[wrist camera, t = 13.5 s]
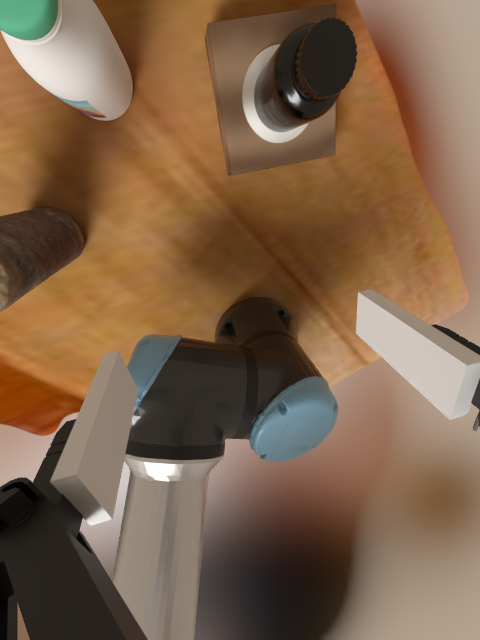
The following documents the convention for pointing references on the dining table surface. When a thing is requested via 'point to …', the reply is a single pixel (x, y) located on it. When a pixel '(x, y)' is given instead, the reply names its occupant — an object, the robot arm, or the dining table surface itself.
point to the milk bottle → (69, 53)
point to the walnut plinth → (238, 92)
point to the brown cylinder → (34, 250)
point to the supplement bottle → (305, 74)
